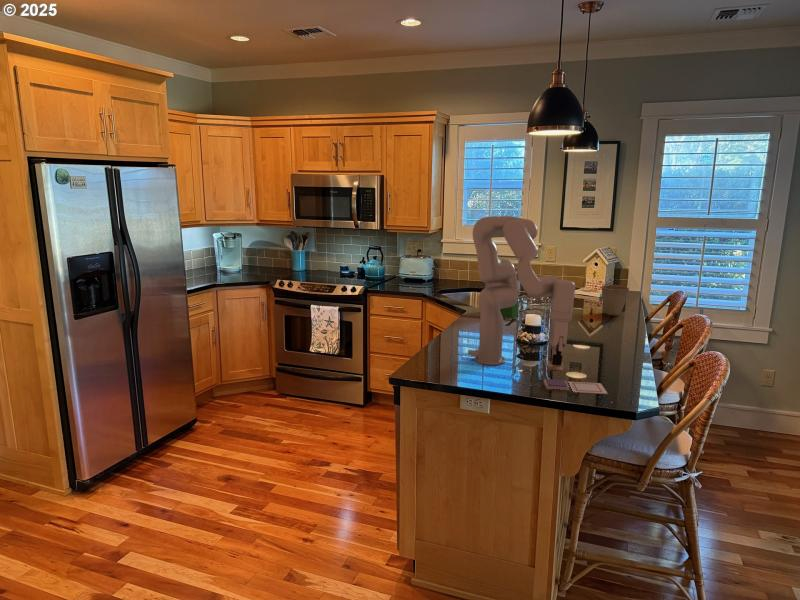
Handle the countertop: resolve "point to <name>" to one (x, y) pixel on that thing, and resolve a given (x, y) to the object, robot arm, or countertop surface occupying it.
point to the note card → (587, 387)
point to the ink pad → (556, 384)
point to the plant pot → (614, 298)
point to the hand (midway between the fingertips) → (555, 362)
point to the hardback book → (509, 311)
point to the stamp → (554, 367)
